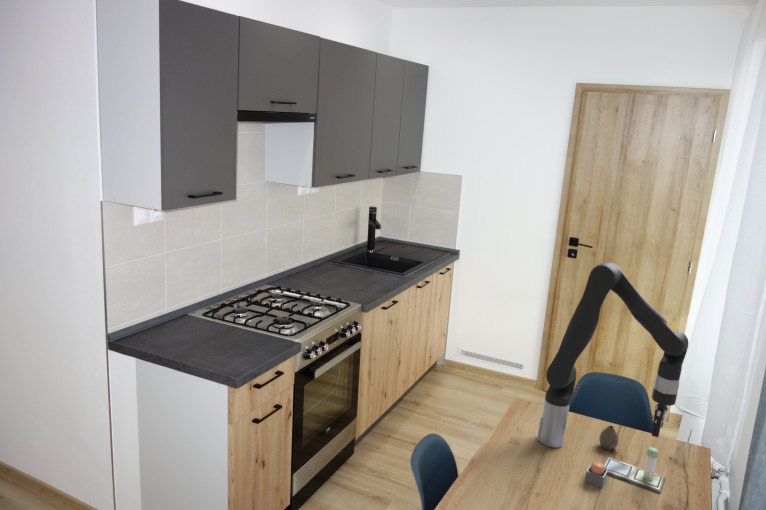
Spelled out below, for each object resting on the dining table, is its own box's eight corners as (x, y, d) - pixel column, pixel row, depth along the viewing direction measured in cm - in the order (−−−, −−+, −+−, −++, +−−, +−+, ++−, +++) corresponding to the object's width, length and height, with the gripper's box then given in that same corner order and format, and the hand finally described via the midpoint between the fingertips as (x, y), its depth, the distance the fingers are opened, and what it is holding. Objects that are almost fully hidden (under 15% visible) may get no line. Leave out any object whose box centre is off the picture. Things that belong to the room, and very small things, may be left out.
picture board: (600, 471, 218) (600, 469, 218) (607, 458, 228) (607, 456, 227) (659, 493, 208) (660, 490, 208) (664, 478, 217) (665, 476, 217)
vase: (618, 453, 232) (622, 432, 230) (599, 450, 233) (603, 429, 231) (615, 444, 239) (618, 424, 237) (597, 441, 240) (600, 421, 238)
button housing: (584, 481, 212) (586, 471, 211) (589, 473, 217) (590, 463, 216) (602, 487, 209) (604, 477, 208) (606, 480, 214) (608, 469, 213)
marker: (641, 478, 215) (647, 450, 212) (643, 473, 217) (648, 446, 215) (652, 481, 213) (657, 453, 210) (654, 477, 216) (659, 449, 213)
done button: (588, 474, 211) (590, 465, 211) (591, 468, 215) (593, 460, 214) (601, 479, 209) (603, 470, 208) (604, 473, 213) (606, 464, 212)
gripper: (657, 378, 215) (649, 420, 219) (650, 392, 203) (641, 435, 207) (680, 385, 211) (671, 427, 215) (674, 399, 200) (665, 443, 203)
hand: (656, 431), depth 211 cm, fingers open, 8 cm apart
